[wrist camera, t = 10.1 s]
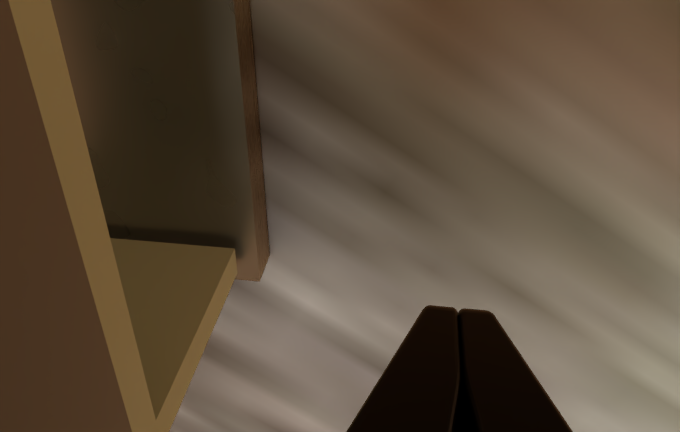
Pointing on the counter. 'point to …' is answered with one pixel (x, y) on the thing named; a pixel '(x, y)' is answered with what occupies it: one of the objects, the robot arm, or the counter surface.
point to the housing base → (171, 120)
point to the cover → (84, 266)
